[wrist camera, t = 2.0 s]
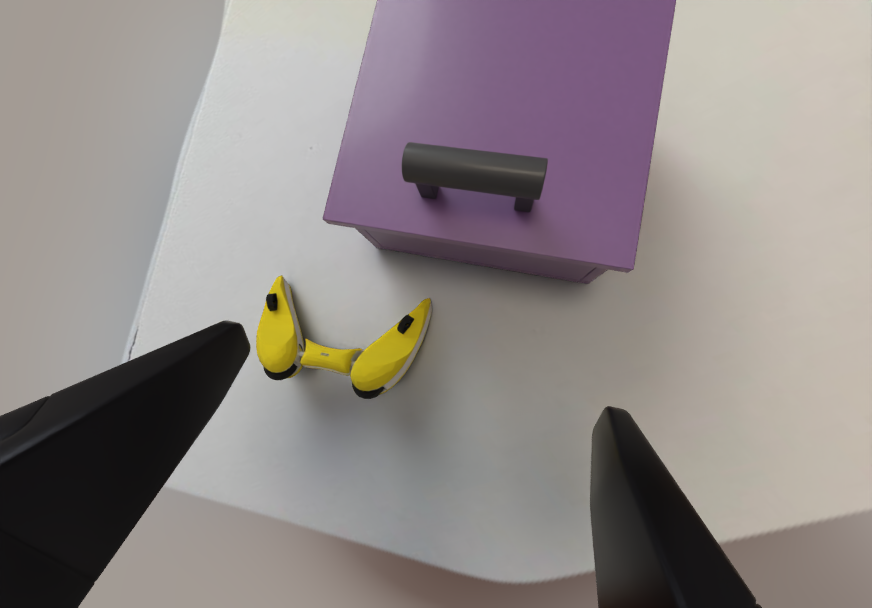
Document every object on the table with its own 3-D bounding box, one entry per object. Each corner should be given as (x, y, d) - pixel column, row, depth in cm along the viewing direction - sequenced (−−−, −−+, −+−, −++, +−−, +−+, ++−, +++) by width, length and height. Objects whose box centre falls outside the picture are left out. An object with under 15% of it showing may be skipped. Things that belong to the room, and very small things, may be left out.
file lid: (628, 273, 15) (671, 248, 11) (327, 223, 17) (285, 190, 13) (670, 6, 16) (721, -92, 12) (384, -6, 18) (359, -93, 15)
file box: (588, 284, 21) (630, 254, 15) (375, 247, 24) (332, 208, 17) (618, 107, 22) (670, 8, 16) (412, 88, 25) (385, -5, 18)
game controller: (255, 383, 22) (222, 363, 19) (296, 295, 25) (272, 266, 22) (411, 415, 21) (401, 399, 18) (435, 318, 24) (430, 290, 21)
